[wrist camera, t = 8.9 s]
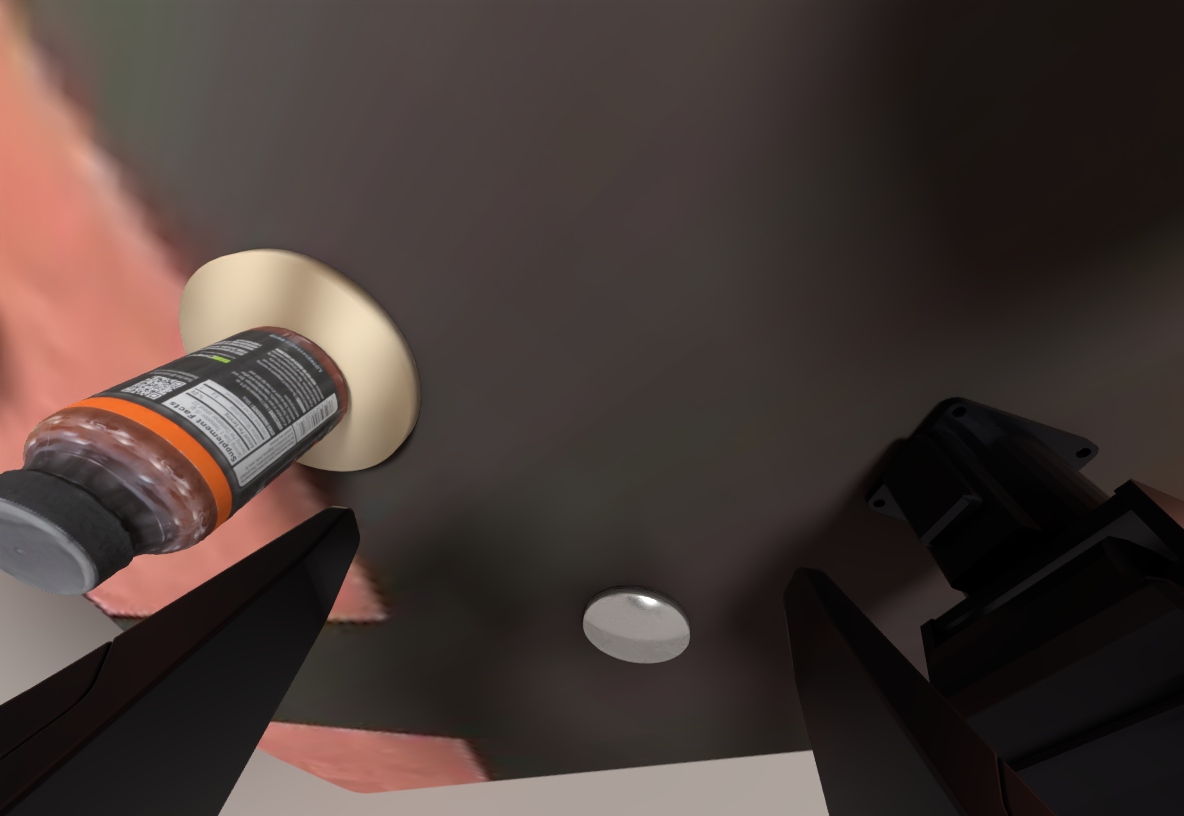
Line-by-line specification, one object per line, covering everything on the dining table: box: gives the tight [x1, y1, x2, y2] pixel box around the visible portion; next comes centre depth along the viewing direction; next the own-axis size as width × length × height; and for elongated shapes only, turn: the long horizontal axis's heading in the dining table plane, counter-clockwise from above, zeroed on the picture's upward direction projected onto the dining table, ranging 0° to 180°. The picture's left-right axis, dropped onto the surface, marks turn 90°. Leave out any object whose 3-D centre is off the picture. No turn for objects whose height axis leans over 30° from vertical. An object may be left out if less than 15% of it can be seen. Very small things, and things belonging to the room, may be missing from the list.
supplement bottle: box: [0, 326, 348, 596], centre depth 18 cm, size 6×6×11 cm
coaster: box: [179, 248, 421, 471], centre depth 23 cm, size 12×12×1 cm
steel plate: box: [583, 586, 690, 663], centre depth 30 cm, size 7×7×1 cm
